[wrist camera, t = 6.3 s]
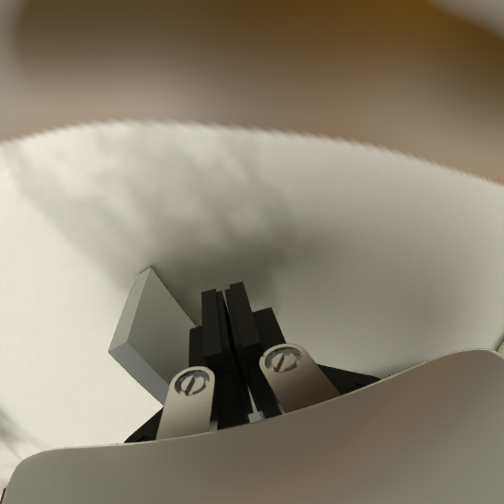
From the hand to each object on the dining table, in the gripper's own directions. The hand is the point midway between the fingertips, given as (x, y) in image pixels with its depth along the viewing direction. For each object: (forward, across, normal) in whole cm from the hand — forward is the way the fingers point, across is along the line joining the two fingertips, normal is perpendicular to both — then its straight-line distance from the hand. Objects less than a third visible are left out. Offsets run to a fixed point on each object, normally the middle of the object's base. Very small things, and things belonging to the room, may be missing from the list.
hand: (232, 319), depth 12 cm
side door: (+2, +2, +3) cm, 4 cm away
